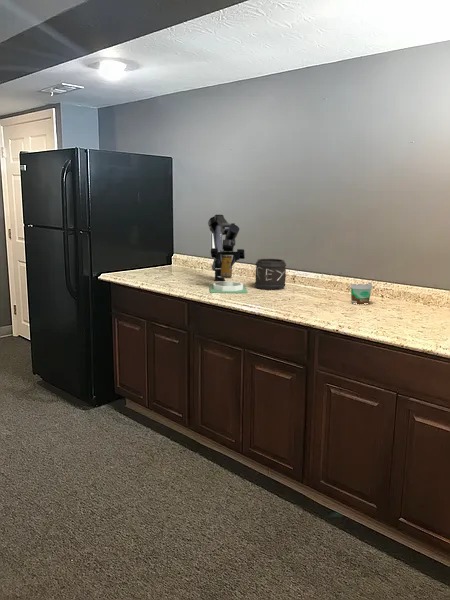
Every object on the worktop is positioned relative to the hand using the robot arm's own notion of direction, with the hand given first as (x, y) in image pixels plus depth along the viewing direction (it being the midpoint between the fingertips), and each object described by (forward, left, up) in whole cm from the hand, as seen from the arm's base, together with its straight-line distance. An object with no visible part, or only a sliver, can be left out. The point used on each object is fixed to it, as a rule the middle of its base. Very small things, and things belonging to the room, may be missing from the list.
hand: (226, 265), depth 284 cm
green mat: (-1, +1, -13) cm, 14 cm away
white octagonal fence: (-1, +1, -13) cm, 14 cm away
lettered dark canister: (-7, +25, -14) cm, 30 cm away
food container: (+35, +66, -14) cm, 76 cm away
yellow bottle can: (-1, +1, -7) cm, 7 cm away
